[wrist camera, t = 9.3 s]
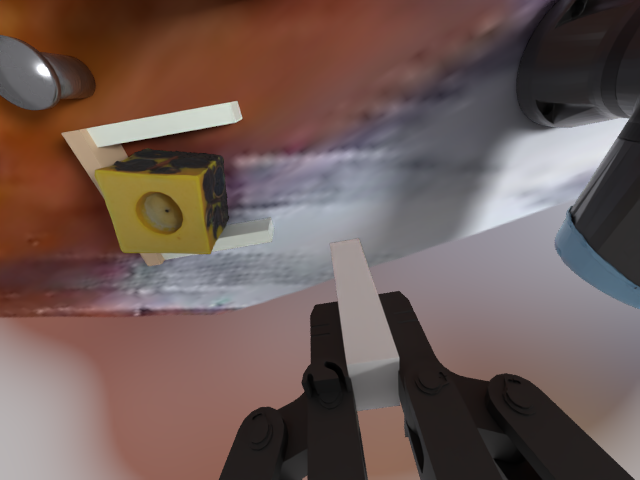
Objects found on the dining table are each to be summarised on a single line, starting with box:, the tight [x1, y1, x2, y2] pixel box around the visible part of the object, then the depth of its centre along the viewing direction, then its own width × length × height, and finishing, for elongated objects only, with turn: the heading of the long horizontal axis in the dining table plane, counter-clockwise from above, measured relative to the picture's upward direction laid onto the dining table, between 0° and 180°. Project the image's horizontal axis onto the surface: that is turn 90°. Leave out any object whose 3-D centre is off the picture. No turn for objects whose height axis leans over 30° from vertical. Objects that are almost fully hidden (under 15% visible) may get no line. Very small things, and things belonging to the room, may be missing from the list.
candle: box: [94, 148, 229, 254], centre depth 31 cm, size 10×10×10 cm
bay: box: [61, 101, 274, 266], centre depth 33 cm, size 18×18×5 cm
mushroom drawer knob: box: [0, 35, 96, 110], centre depth 25 cm, size 6×6×7 cm
